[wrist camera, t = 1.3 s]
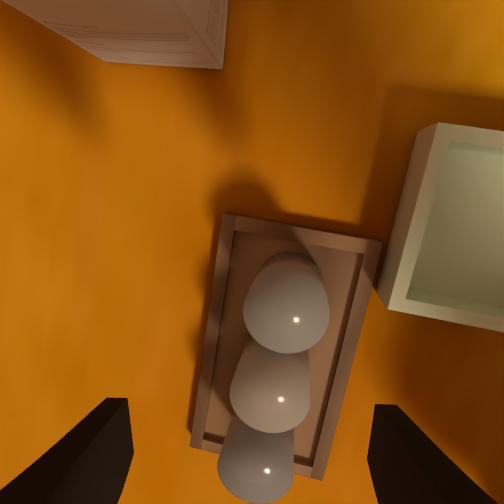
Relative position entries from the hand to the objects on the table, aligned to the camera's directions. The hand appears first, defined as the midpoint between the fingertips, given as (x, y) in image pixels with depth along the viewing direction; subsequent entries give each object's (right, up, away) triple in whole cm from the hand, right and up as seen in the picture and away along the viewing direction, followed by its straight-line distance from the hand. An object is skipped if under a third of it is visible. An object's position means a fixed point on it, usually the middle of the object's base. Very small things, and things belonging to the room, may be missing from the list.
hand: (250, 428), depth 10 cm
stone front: (+2, +3, +10) cm, 11 cm away
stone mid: (+2, -1, +11) cm, 11 cm away
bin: (+12, +6, +8) cm, 16 cm away
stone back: (+1, -5, +12) cm, 13 cm away
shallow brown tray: (+2, -1, +12) cm, 12 cm away
